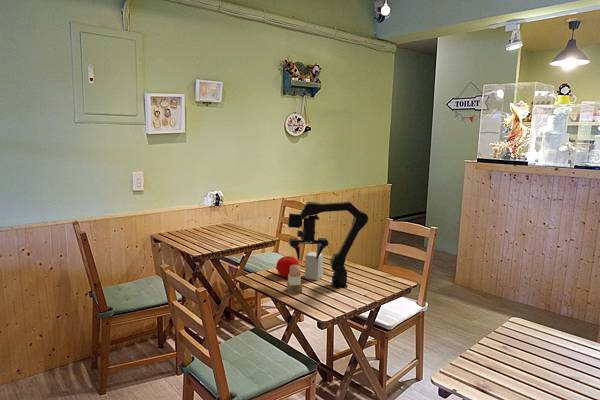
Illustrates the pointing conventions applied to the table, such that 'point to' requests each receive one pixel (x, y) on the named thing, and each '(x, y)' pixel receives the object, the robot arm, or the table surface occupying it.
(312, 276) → the supplement box
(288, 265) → the tomato
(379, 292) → the table surface
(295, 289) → the walnut base block
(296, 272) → the brown rounded lump
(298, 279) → the cream block
